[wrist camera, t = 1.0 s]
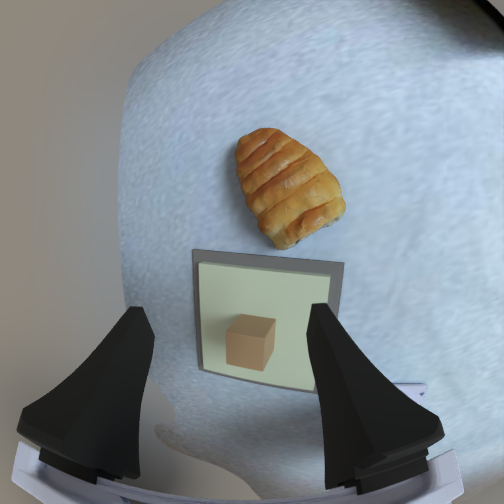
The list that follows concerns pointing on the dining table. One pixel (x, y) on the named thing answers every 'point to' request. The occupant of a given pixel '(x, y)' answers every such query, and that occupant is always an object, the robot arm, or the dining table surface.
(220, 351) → the cover
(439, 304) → the dining table surface
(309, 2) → the dining table surface
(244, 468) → the dining table surface
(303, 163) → the pastry
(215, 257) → the mat
